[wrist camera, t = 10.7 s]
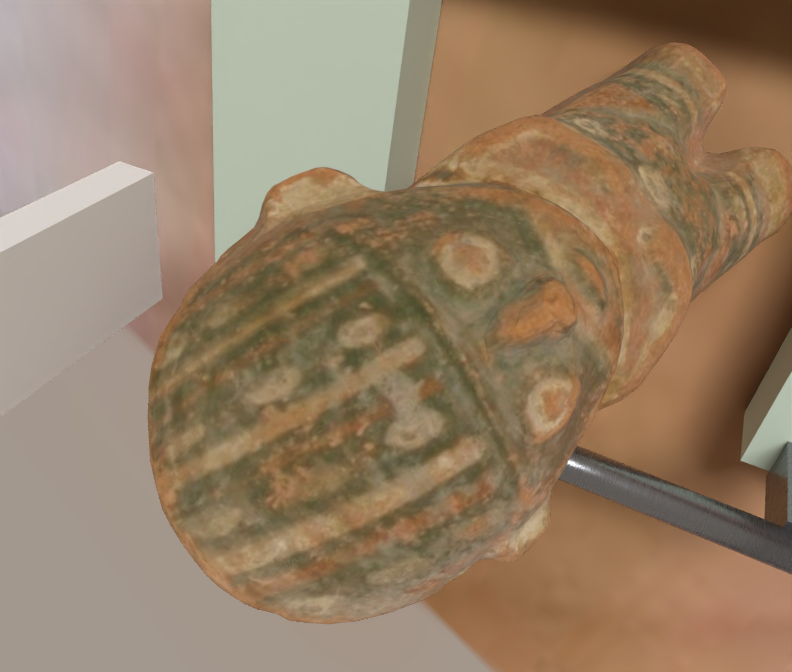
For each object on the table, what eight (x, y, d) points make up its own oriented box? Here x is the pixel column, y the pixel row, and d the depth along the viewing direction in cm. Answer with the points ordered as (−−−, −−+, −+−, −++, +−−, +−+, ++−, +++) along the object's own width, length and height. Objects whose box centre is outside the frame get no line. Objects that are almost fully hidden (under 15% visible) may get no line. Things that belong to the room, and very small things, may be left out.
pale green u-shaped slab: (253, 236, 28) (215, 262, 26) (265, -384, 18) (205, -412, 16) (956, 488, 21) (972, 547, 20) (1589, -257, 11) (1742, -279, 10)
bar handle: (308, 303, 25) (243, 363, 22) (311, 267, 24) (243, 324, 21) (817, 496, 21) (822, 603, 18) (841, 460, 20) (851, 566, 17)
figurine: (817, 179, 19) (859, 674, 7) (572, 328, 24) (371, 756, 13) (609, -85, 18) (281, 9, 6) (400, 129, 23) (9, 395, 12)
